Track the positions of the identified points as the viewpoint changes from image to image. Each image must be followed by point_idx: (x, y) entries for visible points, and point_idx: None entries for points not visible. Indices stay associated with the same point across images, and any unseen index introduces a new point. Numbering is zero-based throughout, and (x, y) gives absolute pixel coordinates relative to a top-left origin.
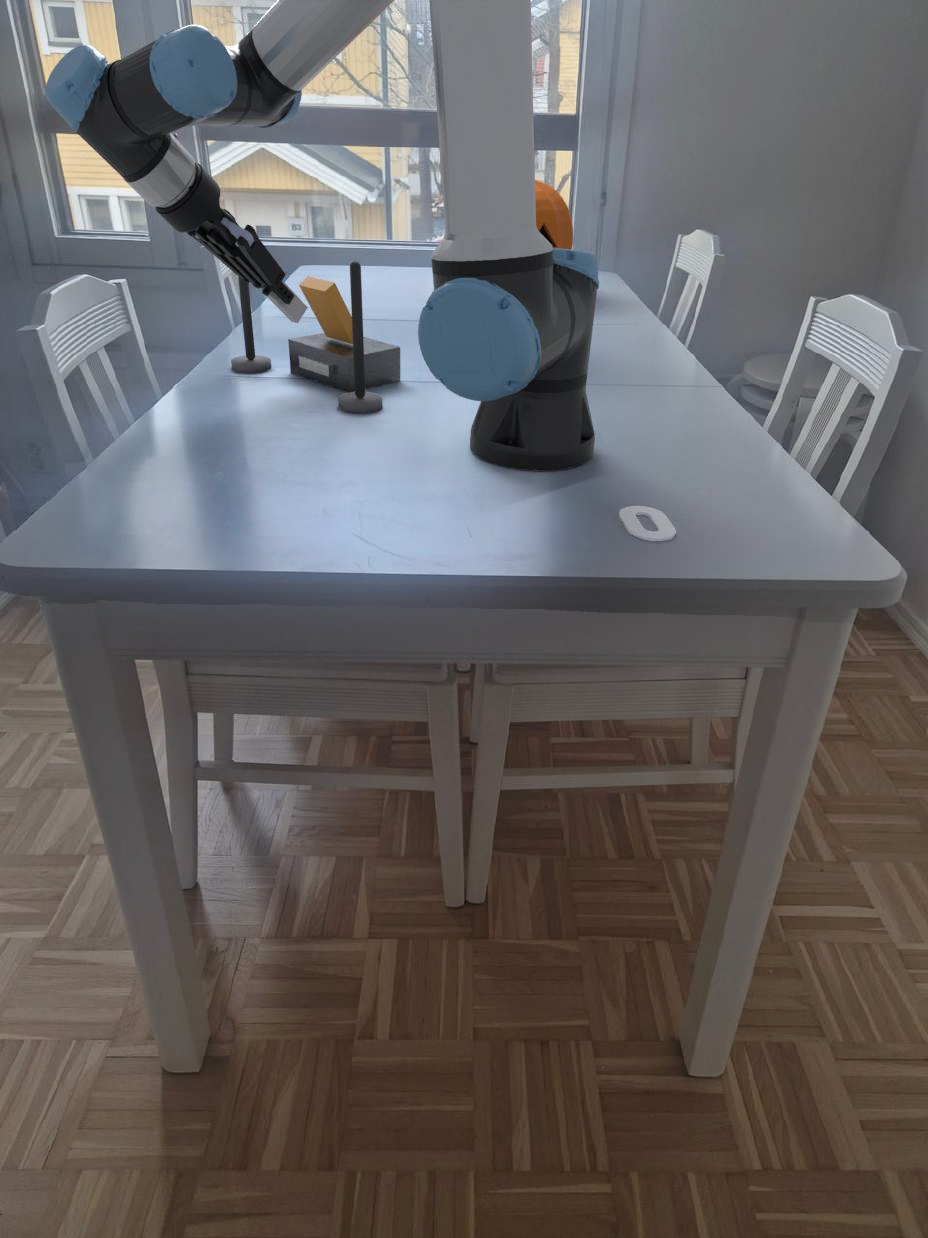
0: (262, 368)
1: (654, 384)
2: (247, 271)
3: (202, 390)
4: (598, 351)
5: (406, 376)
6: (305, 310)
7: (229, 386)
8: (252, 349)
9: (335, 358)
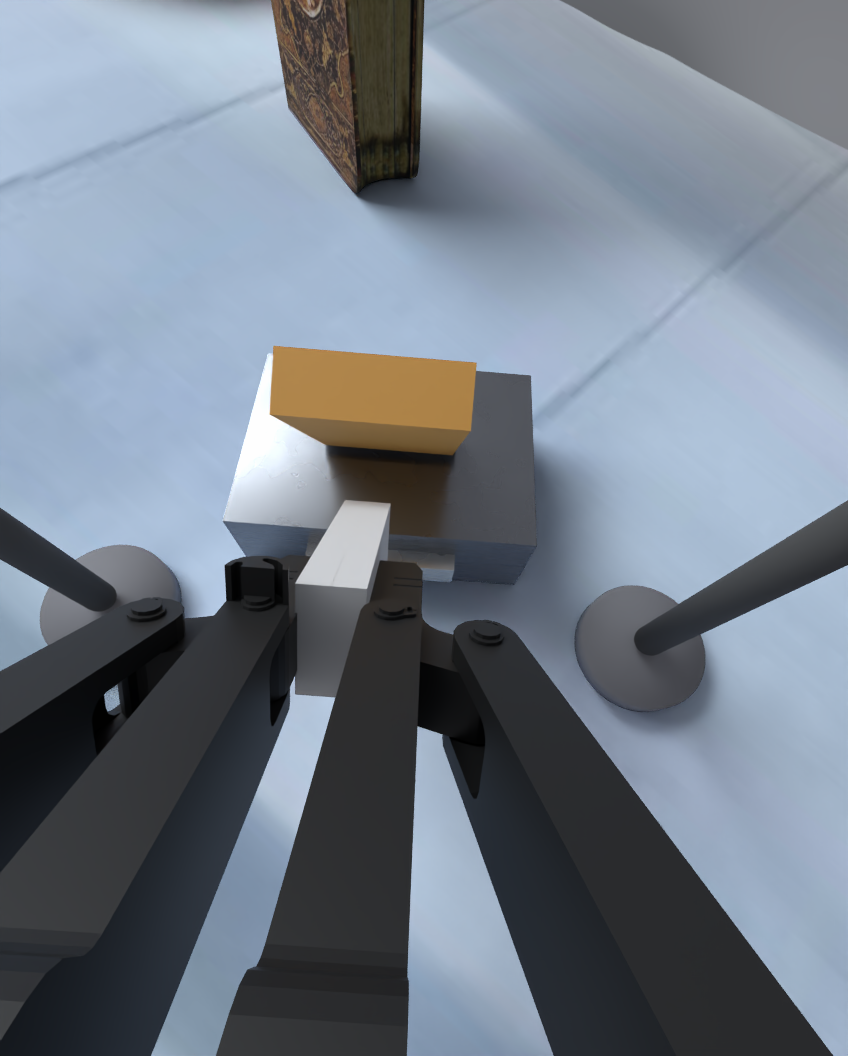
0: None
1: (805, 188)
2: (251, 790)
3: None
4: (591, 107)
5: None
6: (389, 520)
7: None
8: (103, 591)
9: (472, 547)
